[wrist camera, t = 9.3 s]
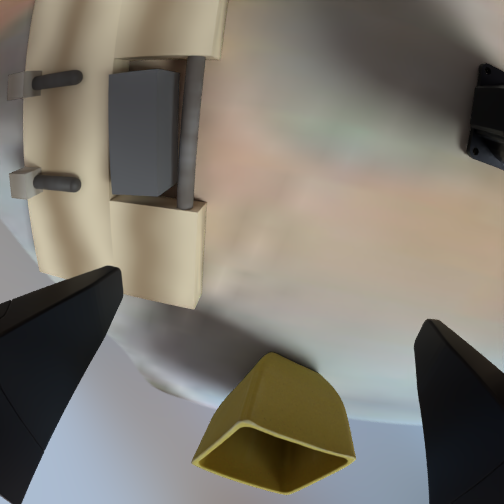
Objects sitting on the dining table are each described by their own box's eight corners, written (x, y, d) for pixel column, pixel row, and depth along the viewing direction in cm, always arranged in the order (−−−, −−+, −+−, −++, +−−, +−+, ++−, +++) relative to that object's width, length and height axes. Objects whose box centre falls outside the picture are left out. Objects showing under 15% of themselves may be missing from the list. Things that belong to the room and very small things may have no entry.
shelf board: (234, -39, 13) (220, -65, 10) (201, 293, 24) (186, 325, 20) (54, -9, 14) (22, -17, 11) (53, 260, 25) (27, 282, 21)
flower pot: (213, 383, 28) (188, 465, 20) (260, 323, 24) (240, 421, 16) (294, 417, 29) (287, 496, 21) (351, 367, 25) (359, 459, 17)
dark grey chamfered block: (180, 73, 17) (157, 68, 14) (179, 181, 20) (157, 196, 17) (137, 76, 17) (108, 74, 14) (138, 179, 21) (112, 194, 17)
